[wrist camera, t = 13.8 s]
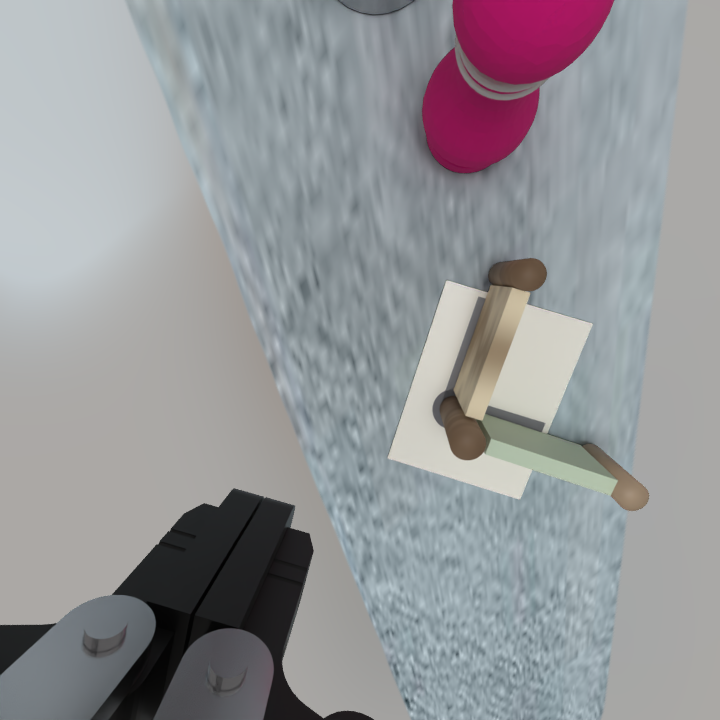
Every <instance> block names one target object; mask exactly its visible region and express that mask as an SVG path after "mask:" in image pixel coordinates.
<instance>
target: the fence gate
mask: <svg viewBox="0 0 720 720" xmlns="http://www.w3.org/2000/svg"><path fill="white" fill-rule="evenodd" d="M476 421H477V423H478V425H479V427H480V429H481V431H482V433H483V435H484V437H485V439H486V448H485V450H484V453H485V454H486V455H489V456H492V457H495V458H498V459H501V460H504V461H507V462H510V463H513V464H516V465H519V466H522V467H525V468H528V469H531V470H534V471H537V472H540V473H543V474H546V475H549V476H552V477H555V478H559V479H562V480H565V481H568V482H571V483H574V484H577V485H580V486H583V487H586V488H589V489H592V490H595V491H598V492H601V493H604V494H607V495H610V496H611V497H612V498H613V499H614V500H615V501H616V502H617V503H618V504H619V505H620V506H621V507H622V508H623V509H625V510H629V511H636V510H639V509H641V508H643V507H644V506H645V505H646V504H647V502H648V499H649V493H648V490H647V489H646V488H645V487H644V486H643V485H642V484H641V483H639V482H638V481H637V480H636V479H635V478H634V477H633V476H631V475H630V474H629V473H628V472H627V471H626V470H624V469H623V468H622V467H621V466H620V465H619V464H617V463H616V462H615V461H614V460H613V459H612V458H610V457H609V456H608V455H607V454H606V453H605V452H604V451H602V450H601V449H600V448H599V447H598V446H596V445H594V444H586V445H583V446H581V445H579V444H576V443H573V442H570V441H567V440H563V439H560V438H557V437H554V436H551V435H548V434H545V433H542V432H539V431H536V430H533V429H530V428H527V427H524V426H521V425H518V424H515V423H511V422H508V421H505V420H502V419H499V418H496V417H493V416H490V415H487V414H485V415H484V418H483V420H482V421H481V420H478V419H476Z"/></svg>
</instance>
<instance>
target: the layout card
mask: <svg viewBox="0 0 720 720" xmlns="http://www.w3.org/2000/svg"><path fill="white" fill-rule="evenodd" d="M487 294H488V292H484V291H481V290H478V289H474V288H471V287H468V286H464V285H461V284H458V283H454V282H451V281H448V280H446V282H445V285H444V288H443V291H442V294H441V297H440V300H439V303H438V306H437V310H436V313H435V316H434V319H433V322H432V325H431V328H430V331H429V334H428V337H427V340H426V343H425V346H424V349H423V352H422V355H421V358H420V361H419V364H418V367H417V370H416V373H415V376H414V379H413V382H412V385H411V388H410V391H409V394H408V397H407V400H406V403H405V406H404V409H403V412H402V415H401V418H400V421H399V424H398V427H397V430H396V433H395V436H394V439H393V442H392V446H391V449H390V452H389V455H388V459H392V460H395V461H398V462H401V463H404V464H408V465H411V466H414V467H417V468H420V469H424V470H427V471H430V472H433V473H436V474H440V475H443V476H446V477H449V478H452V479H456V480H459V481H462V482H465V483H468V484H472V485H475V486H478V487H481V488H484V489H488V490H491V491H494V492H497V493H500V494H504V495H507V496H510V497H513V498H516V499H519V500H520V498H521V496H522V494H523V491H524V489H525V486H526V484H527V481H528V479H529V477H530V474H531V472H532V470H531V469H528V468H525V467H522V466H519V465H516V464H513V463H510V462H507V461H504V460H501V459H498V458H495V457H492V456H489V455H486V454H485V453H484V452H483V454H482V455H481V456H479V457H478V458H476V459H474V460H462V459H459V458H457V457H456V456H455V455H454V454H453V453H452V451H451V449H450V445H449V442H448V438H447V435H446V432H445V428H444V425H443V421H442V418H441V415H440V405H441V403H442V402H443V400H444V399H446V398H447V397H450V396H456V395H455V393H454V387H455V384H456V381H457V379H458V376H459V373H460V370H461V367H462V364H463V362H464V359H465V356H466V353H467V350H468V348H469V345H470V342H471V339H472V336H473V333H474V331H475V328H476V325H477V322H478V319H479V317H480V314H481V311H482V308H483V305H484V302H485V300H486V297H487ZM592 325H593V324H592V323H588V322H585V321H582V320H578V319H575V318H572V317H568V316H565V315H562V314H558V313H555V312H551V311H548V310H545V309H541V308H538V307H535V306H531V305H528V304H526V306H525V309H524V311H523V314H522V317H521V319H520V322H519V325H518V327H517V330H516V333H515V335H514V338H513V341H512V343H511V346H510V349H509V351H508V354H507V357H506V359H505V362H504V365H503V367H502V370H501V373H500V375H499V378H498V381H497V383H496V386H495V389H494V391H493V394H492V396H491V399H490V402H489V404H488V407H487V410H486V412H485V414H487V415H490V416H493V417H496V418H499V419H502V420H505V421H508V422H511V423H515V424H518V425H521V426H524V427H527V428H530V429H533V430H536V431H539V432H542V433H545V434H547V433H548V431H549V429H550V426H551V424H552V421H553V419H554V416H555V414H556V412H557V409H558V407H559V404H560V402H561V400H562V397H563V395H564V392H565V390H566V388H567V385H568V383H569V380H570V378H571V376H572V373H573V371H574V368H575V366H576V363H577V361H578V359H579V356H580V354H581V351H582V349H583V347H584V344H585V342H586V339H587V337H588V335H589V332H590V330H591V327H592Z"/></svg>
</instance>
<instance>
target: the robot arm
mask: <svg viewBox="0 0 720 720" xmlns="http://www.w3.org/2000/svg"><path fill="white" fill-rule="evenodd" d="M339 1H340V2H342V3H343V4H344V5H346V6H347V7H349V8H351V9H354V10H356V11H358V12H361V13H368V14H383V13H389V12H392V11H395V10H398V9H401V8H402V7H404V6H406V5H407V4H409V3H410V2H412V1H413V0H339ZM294 510H295V506H294V505H291V504H287V503H284V502H280V501H277V500H273V499H270V498H267V497H266V498H264V497H263V496H259V495H256V494H252V493H248V492H245V491H242V490H238V489H233V490H232V491H231V492H230V493H229V495H228V496H227V497H226V498H225V500H224V501H223V502H222V504H221V505H220V506H219V507H215V506H212V505H208V504H205V503H204V504H202V505H200V506H198V507H196V508H194V509H192V510H190V511H188V512H186V513H184V514H183V516H182V517H181V518H180V519H179V520H178V521H177V522H176V524H175V525H174V526H173V527H172V528H171V530H170V532H169V531H168V532H167V534H166V535H165V536H164V537H163V538H162V539H161V540H160V542H159V544H158V545H156V546H155V547H154V548H153V549H152V550H151V552H150V553H149V554H148V555H147V556H146V557H145V558H144V559H143V561H142V562H141V563H140V564H139V565H138V566H137V567H136V569H135V570H134V571H133V572H132V573H131V574H130V575H129V576H128V577H127V579H126V580H125V581H124V582H123V583H122V584H121V585H120V587H118V589H117V590H116V591H115V592H114V593H113V594H112V595H110V596H104V597H99V598H96V599H93V600H90V601H88V602H86V603H83V604H81V605H79V606H78V607H76V608H75V609H73V610H72V611H70V612H69V613H68V614H67V615H65V616H64V617H63V618H62V619H61V620H60V621H59V622H58V623H55V624H47V625H0V720H374V719H372V718H371V717H369V716H366V715H364V714H362V713H358V712H354V711H341V712H336V713H333V714H331V715H329V716H327V717H326V718H324V719H323V718H322V717H321V716H319V715H318V714H317V713H315V712H314V711H313V710H311V709H310V708H309V707H307V706H306V705H305V704H303V703H302V702H301V701H300V700H299V699H298V698H297V697H296V695H295V694H294V693H293V692H292V690H291V689H290V687H289V685H288V683H287V681H286V679H285V676H284V672H283V667H282V660H283V657H284V653H285V650H286V646H287V643H288V640H289V637H290V634H291V630H292V627H293V624H294V620H295V617H296V614H297V610H298V607H299V604H300V600H301V596H302V592H303V589H304V585H305V581H306V577H307V574H308V570H309V566H310V562H311V559H312V555H313V546H312V542H311V538H310V534H309V533H305V532H302V531H299V530H295V529H291V528H290V527H291V523H292V519H293V515H294Z"/></svg>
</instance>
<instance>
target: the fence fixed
mask: <svg viewBox="0 0 720 720" xmlns="http://www.w3.org/2000/svg"><path fill="white" fill-rule="evenodd" d="M546 276H547V271H546V268H545V266H544V264H543V263H542V262H541V261H539V260H537V259H534V258H528V259H521V260H513V261H505V262H499V263H496V264H494V265H493V266H492V267H491V268H490V270H489V274H488V278H489V281H490V283H491V284H492V285H491V286H490V288H489V291H488V294H487V297H486V300H485V302H484V305H483V308H482V311H481V314H480V317H479V319H478V322H477V325H476V328H475V331H474V333H473V336H472V339H471V342H470V345H469V348H468V350H467V353H466V356H465V359H464V362H463V364H462V367H461V370H460V373H459V376H458V379H457V381H456V384H455V387H454V393H455V395H456V396H450V397H447V398H446V399H444V400H443V402H442V403H441V405H440V415H441V418H442V421H443V425H444V428H445V432H446V435H447V438H448V442H449V445H450V449H451V451H452V453H453V454H454V455H455V456H456V457H457V458H459V459H462V460H474V459H476V458H478V457H479V456H481V455H482V454H483V452H484V450H485V448H486V439H485V437H484V435H483V433H482V431H481V429H480V427H479V425H478V423H477V421H476V419H478V420H481V421H482V420H483V418H484V415H485V412H486V410H487V407H488V404H489V402H490V399H491V396H492V394H493V391H494V389H495V386H496V383H497V381H498V378H499V375H500V373H501V370H502V367H503V365H504V362H505V359H506V357H507V354H508V351H509V349H510V346H511V343H512V341H513V338H514V335H515V333H516V330H517V327H518V325H519V322H520V319H521V317H522V314H523V311H524V309H525V306H526V304H527V301H528V298H529V296H530V293H529V292H526V291H534V290H536V289H538V288H540V287H541V286H542V285H543V283H544V282H545V280H546Z"/></svg>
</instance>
